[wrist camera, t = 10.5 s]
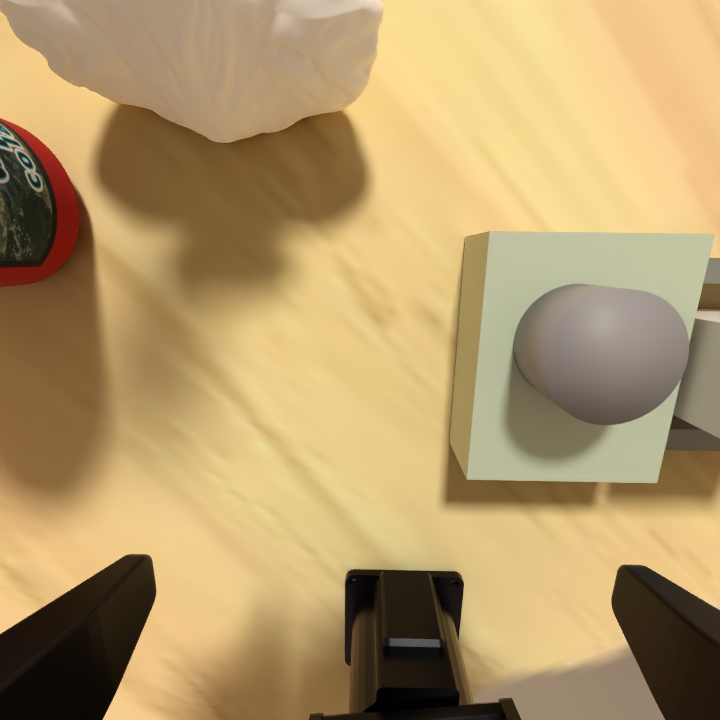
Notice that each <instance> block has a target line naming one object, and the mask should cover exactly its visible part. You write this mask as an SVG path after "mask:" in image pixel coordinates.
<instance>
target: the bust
mask: <svg viewBox="0 0 720 720" xmlns="http://www.w3.org/2000/svg"><path fill="white" fill-rule="evenodd" d="M0 11H1V12H2V13H4V14H5V15H6V17H7V18H8V21H9V23H10V26H11V28H12V30H13V32H14V33H15V35H16V36H17V37H18V38H19V39H20V40H21V41H22V42H23V43H25V44H26V45H28V46H29V47H31V48H33V49H35V50H37V51H38V52H40V53H41V54H42V55H43V56H44V57H45V58H46V60H47V62H48V65H49V67H50V69H51V70H52V71H53V72H54V73H56V74H57V75H58V76H60V77H61V78H62V79H64V80H66V81H67V82H69V83H71V84H73V85H75V86H78V87H85V88H87V89H89V90H90V91H93V92H96V93H98V94H100V95H101V96H103V97H105V98H107V99H109V100H111V101H114V102H116V103H121V104H128V105H134V106H138V107H143V108H147V109H150V110H153V111H154V112H156V113H157V114H158V115H160V116H161V117H163V118H165V119H167V120H169V121H171V122H174V123H176V124H178V125H181V126H184V127H186V128H189V129H192V130H193V131H195V132H197V133H199V134H201V135H203V136H205V137H207V138H208V139H209V140H211V141H214V142H221V143H230V142H233V141H236V140H240V139H244V138H249V137H252V136H255V135H257V134H260V133H272V132H277V131H281V130H284V129H286V128H288V127H289V126H291V125H293V124H294V123H295V122H297V121H299V120H300V119H302V118H305V117H309V116H313V115H319V114H322V113H331V112H337V111H341V110H343V109H345V108H346V107H348V106H349V105H351V104H352V103H353V102H354V101H356V100H357V98H358V97H359V96H360V95H361V94H362V92H363V91H364V89H365V87H366V85H367V83H368V80H369V76H370V72H371V68H372V65H373V63H374V61H375V59H376V55H377V41H378V29H379V26H380V24H381V20H382V16H383V5H382V1H381V0H0Z"/></svg>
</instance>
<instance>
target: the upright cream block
mask: <svg viewBox="0 0 720 720" xmlns="http://www.w3.org/2000/svg"><path fill="white" fill-rule="evenodd" d="M673 415H674V416H676V417H678V418H680V419H682V420H684V421H686V422H688V423H690V424H692V425H694V426H696V427H698V428H700V429H702V430H704V431H706V432H708V433H710V434H712V435H714V436H716V437H718V438H720V309H697V312H696V317H695V321H694V325H693V330H692V334H691V338H690V343H689V355H688V361H687V365H686V368H685V371H684V373H683V376H682V378H681V382H680V386H679V390H678V395H677V399H676V403H675V408H674V412H673Z"/></svg>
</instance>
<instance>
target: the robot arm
mask: <svg viewBox="0 0 720 720" xmlns="http://www.w3.org/2000/svg"><path fill="white" fill-rule="evenodd" d="M352 579H357V580H355V581H354V580H352ZM452 581H456V582H454V583H452ZM463 588H464V583H463V579H462V576H461V575H460V574H459V573H458V572H454V571H407V570H360V569H354V570H350V571H348V573H347V574H346V581H345V661H346V663H347V664H348V665H349V666H351V672H350V700H349V714H337V715H325V716H324V715H323V713H316V714H310V718H309V720H521V718H520V716H519V714H518V711H517V709H516V707H515V705H514V702H513V700H512V698H502V699H499V702H488V703H473V699H472V695H471V690H470V686H469V682H468V678H467V674H466V670H465V666H464V662H463V658H462V654H461V649H460V645H459V641H458V640H459V629H460V619H461V609H462V599H463ZM155 597H156V583H155V576H154V569H153V562H152V558H151V557H150V556H149V555H146V554H129V555H126V556H124V557H122V558H121V559H119V560H117V561H116V562H114V563H113V564H111V565H109V566H108V567H106V568H105V569H103V570H102V571H100V572H98V573H97V574H95V575H94V576H92V577H90V578H89V579H87V580H86V581H84V582H82V583H81V584H79V585H78V586H76V587H74V588H73V589H71V590H70V591H68V592H67V593H65V594H63V595H62V596H60V597H59V598H57V599H55V600H54V601H52V602H51V603H49V604H47V605H46V606H44V607H43V608H41V609H39V610H38V611H36V612H35V613H33V614H31V615H30V616H28V617H27V618H25V619H24V620H22V621H20V622H19V623H17V624H16V625H14V626H12V627H11V628H9V629H8V630H6V631H4V632H3V633H1V634H0V720H102V719H103V717H104V716H105V714H106V712H107V710H108V708H109V706H110V704H111V702H112V700H113V698H114V696H115V693H116V691H117V689H118V687H119V684H120V682H121V680H122V678H123V675H124V673H125V671H126V668H127V666H128V663H129V661H130V659H131V656H132V654H133V651H134V649H135V647H136V644H137V642H138V640H139V637H140V635H141V632H142V630H143V628H144V625H145V623H146V621H147V618H148V616H149V613H150V611H151V609H152V606H153V604H154V601H155ZM612 609H613V612H614V614H615V617H616V619H617V621H618V623H619V625H620V627H621V629H622V632H623V634H624V636H625V638H626V640H627V642H628V644H629V646H630V648H631V651H632V653H633V655H634V657H635V659H636V661H637V663H638V665H639V667H640V670H641V672H642V674H643V676H644V678H645V680H646V682H647V684H648V686H649V689H650V691H651V693H652V695H653V697H654V699H655V701H656V703H657V705H658V707H659V709H660V710H661V712H662V714H663V716H664V718H665V720H720V610H718V609H717V608H715V607H713V606H712V605H710V604H708V603H706V602H705V601H703V600H701V599H700V598H698V597H696V596H695V595H693V594H691V593H690V592H688V591H686V590H685V589H683V588H681V587H680V586H678V585H676V584H675V583H673V582H671V581H670V580H668V579H666V578H665V577H663V576H661V575H660V574H658V573H656V572H655V571H653V570H651V569H649V568H648V567H646V566H642V565H622V566H620V567H619V569H618V571H617V575H616V580H615V585H614V589H613V594H612Z"/></svg>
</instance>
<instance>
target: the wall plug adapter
mask: <svg viewBox="0 0 720 720" xmlns="http://www.w3.org/2000/svg"><path fill="white" fill-rule="evenodd" d="M714 235H715V234H659V233H582V232H505V231H489V232H484V233H480V234H476V235H471V236H467V237H465V247H464V260H463V273H462V286H461V299H460V312H459V325H458V338H457V350H456V363H455V376H454V389H453V402H452V415H451V428H450V441H449V442H450V444H451V447H452V449H453V451H454V453H455V455H456V457H457V460H458V462H459V464H460V466H461V468H462V470H463V473H464V475H465V477H466V479H467V480H515V481H567V482H619V483H657V481H658V477H659V473H660V468H661V464H662V460H663V455H664V451H665V450H713V451H720V438H718V437H716V436H714V435H712V434H710V433H708V432H706V431H704V430H702V429H700V428H698V427H696V426H694V425H692V424H690V423H688V422H686V421H684V420H682V419H680V418H678V417H676V416H674V415H673V412H674V408H675V403H676V399H677V395H678V390H679V386H680V382H681V378H682V376H683V373H684V371H685V368H686V365H687V361H688V355H689V343H690V338H691V334H692V330H693V325H694V321H695V317H696V312H697V308H698V304H699V299H700V295H701V291H702V286H703V284H720V258H709V256H710V252H711V248H712V243H713V239H714Z"/></svg>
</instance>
